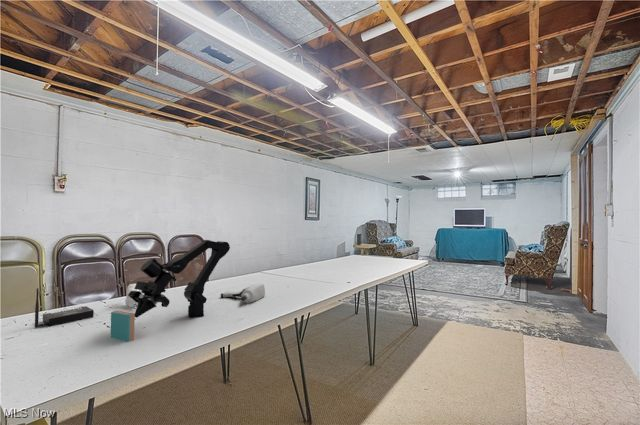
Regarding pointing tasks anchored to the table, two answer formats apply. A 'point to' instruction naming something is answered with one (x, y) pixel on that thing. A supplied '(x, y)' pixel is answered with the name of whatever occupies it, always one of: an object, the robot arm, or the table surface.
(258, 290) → the impact wrench
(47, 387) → the table surface
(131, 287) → the white dinosaur figurine
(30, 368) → the table surface
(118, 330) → the tile
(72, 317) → the black l-shaped piece
